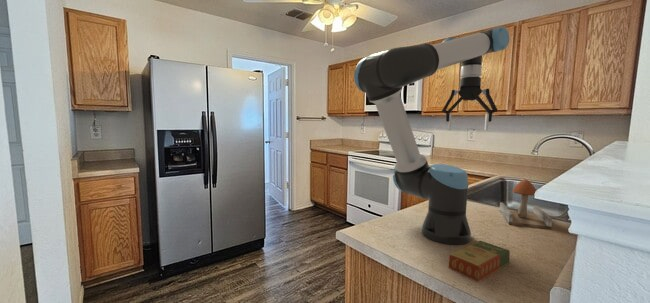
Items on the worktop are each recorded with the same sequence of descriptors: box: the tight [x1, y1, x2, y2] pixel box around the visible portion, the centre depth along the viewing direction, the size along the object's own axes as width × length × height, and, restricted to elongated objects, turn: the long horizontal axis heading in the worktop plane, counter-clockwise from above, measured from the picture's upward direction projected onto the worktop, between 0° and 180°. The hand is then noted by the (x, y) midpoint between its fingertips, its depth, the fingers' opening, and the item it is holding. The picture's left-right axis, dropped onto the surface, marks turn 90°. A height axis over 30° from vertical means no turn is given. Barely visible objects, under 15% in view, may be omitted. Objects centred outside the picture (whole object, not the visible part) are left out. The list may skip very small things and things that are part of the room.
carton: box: [448, 240, 511, 282], centre depth 76 cm, size 8×16×4 cm, turn 124°
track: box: [498, 201, 553, 230], centre depth 110 cm, size 13×16×4 cm
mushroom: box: [512, 179, 537, 218], centre depth 109 cm, size 8×8×15 cm
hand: (467, 129), depth 116 cm, fingers open, 13 cm apart
